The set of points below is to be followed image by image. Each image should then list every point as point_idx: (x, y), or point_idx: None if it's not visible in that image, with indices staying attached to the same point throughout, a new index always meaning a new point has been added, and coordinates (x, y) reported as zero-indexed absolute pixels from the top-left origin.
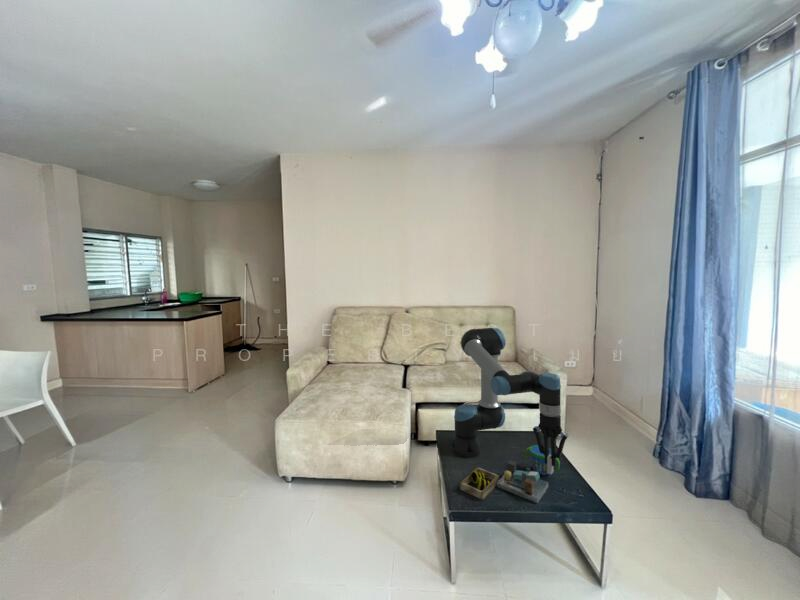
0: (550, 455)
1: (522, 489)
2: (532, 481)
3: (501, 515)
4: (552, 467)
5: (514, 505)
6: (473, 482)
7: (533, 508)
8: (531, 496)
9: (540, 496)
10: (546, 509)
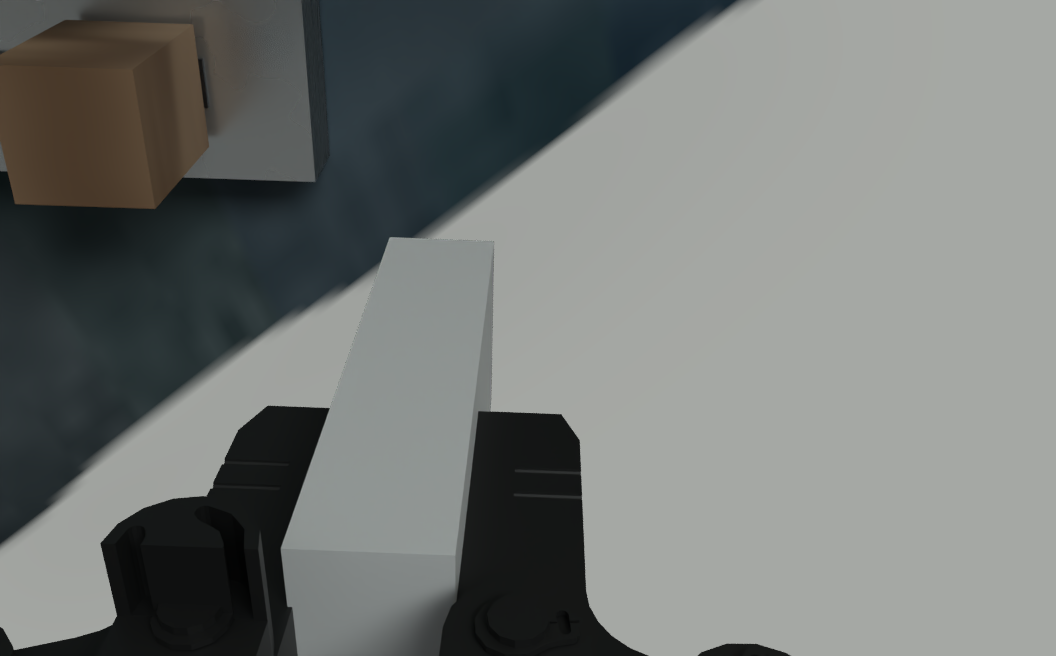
0: (355, 606)
1: None
2: (117, 114)
3: None
4: (484, 400)
5: (132, 358)
6: None
7: (331, 279)
8: (227, 176)
9: (312, 20)
10: (469, 202)
